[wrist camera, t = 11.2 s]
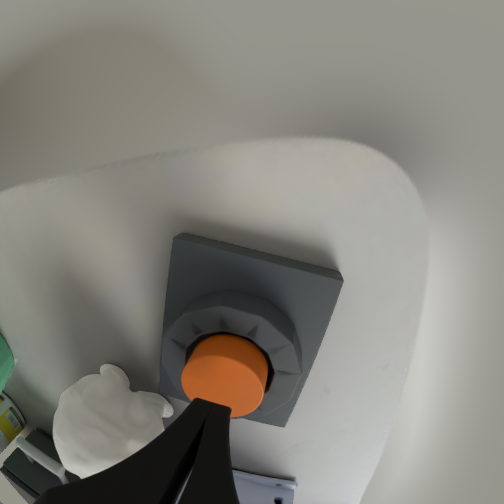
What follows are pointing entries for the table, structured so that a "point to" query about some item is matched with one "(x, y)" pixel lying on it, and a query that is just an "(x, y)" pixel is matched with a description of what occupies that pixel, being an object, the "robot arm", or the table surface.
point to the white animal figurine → (105, 421)
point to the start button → (226, 373)
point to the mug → (5, 362)
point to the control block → (246, 315)
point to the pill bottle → (9, 421)
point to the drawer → (38, 463)
